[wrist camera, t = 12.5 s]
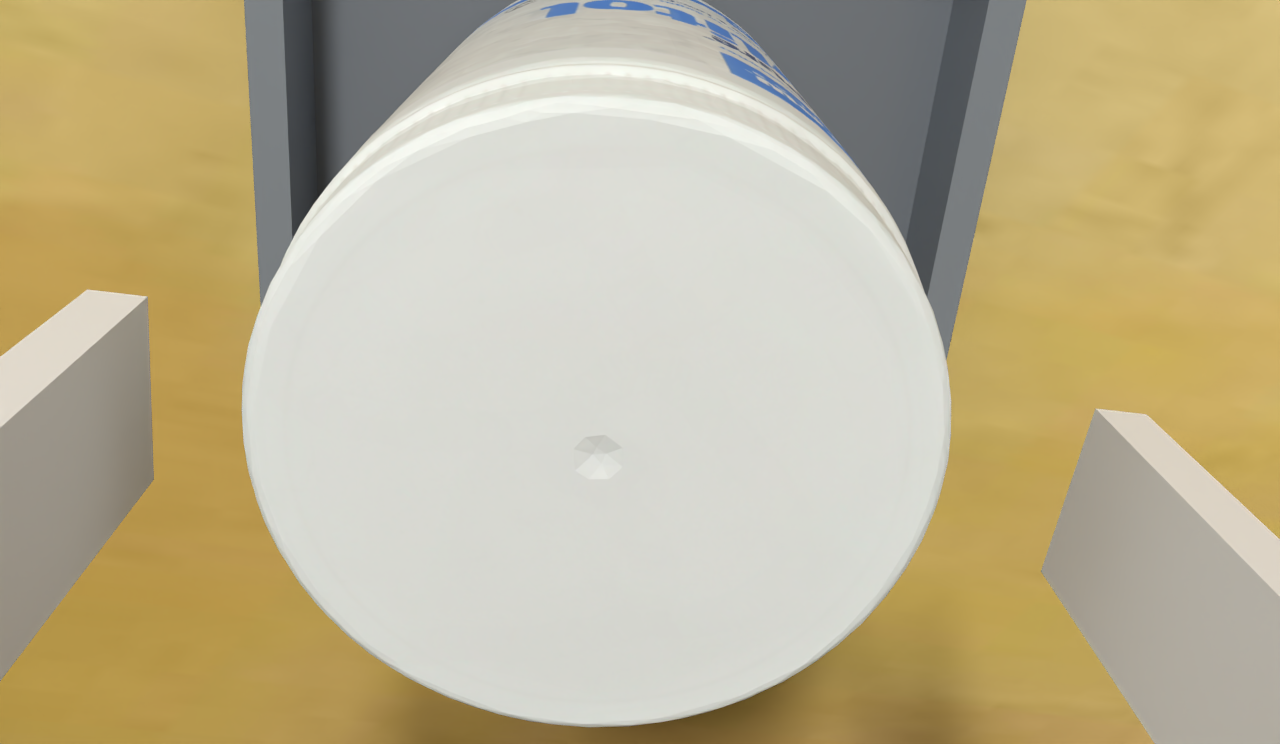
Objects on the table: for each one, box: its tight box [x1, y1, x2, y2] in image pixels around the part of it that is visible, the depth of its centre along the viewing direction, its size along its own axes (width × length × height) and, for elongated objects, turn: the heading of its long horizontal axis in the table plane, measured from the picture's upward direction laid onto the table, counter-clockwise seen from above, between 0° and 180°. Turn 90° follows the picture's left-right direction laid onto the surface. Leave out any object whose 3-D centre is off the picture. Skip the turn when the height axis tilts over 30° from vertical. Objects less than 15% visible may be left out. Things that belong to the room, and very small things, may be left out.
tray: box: [244, 0, 1026, 359], centre depth 27 cm, size 17×17×4 cm
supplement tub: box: [242, 0, 951, 727], centre depth 21 cm, size 10×10×15 cm
